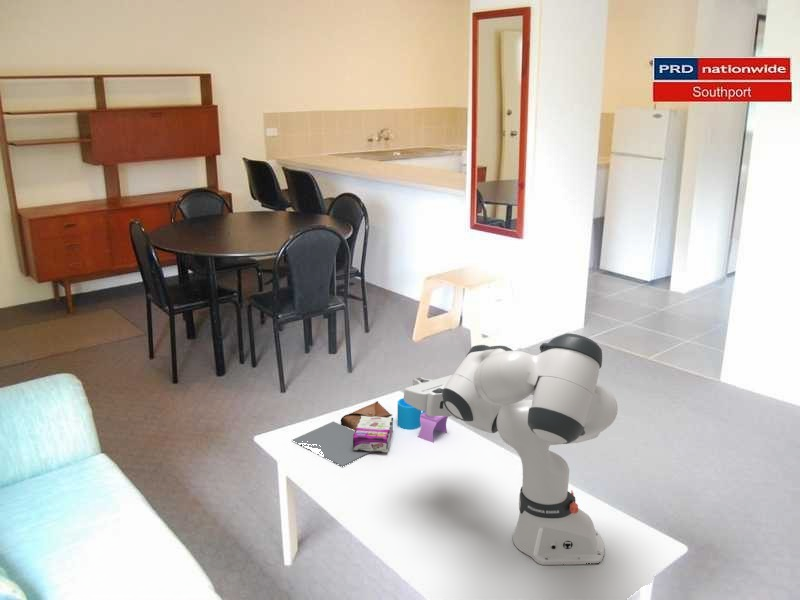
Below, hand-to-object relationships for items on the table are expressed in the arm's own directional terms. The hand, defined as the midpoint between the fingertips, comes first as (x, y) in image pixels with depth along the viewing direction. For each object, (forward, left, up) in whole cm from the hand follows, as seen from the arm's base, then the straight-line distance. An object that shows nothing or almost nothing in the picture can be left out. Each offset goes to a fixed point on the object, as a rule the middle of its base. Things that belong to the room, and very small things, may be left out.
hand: (416, 380), depth 194 cm
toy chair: (-1, -31, -33) cm, 45 cm away
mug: (+6, -39, -33) cm, 51 cm away
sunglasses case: (+22, -38, -33) cm, 55 cm away
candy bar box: (+16, -14, -29) cm, 37 cm away
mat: (+28, -20, -32) cm, 47 cm away
